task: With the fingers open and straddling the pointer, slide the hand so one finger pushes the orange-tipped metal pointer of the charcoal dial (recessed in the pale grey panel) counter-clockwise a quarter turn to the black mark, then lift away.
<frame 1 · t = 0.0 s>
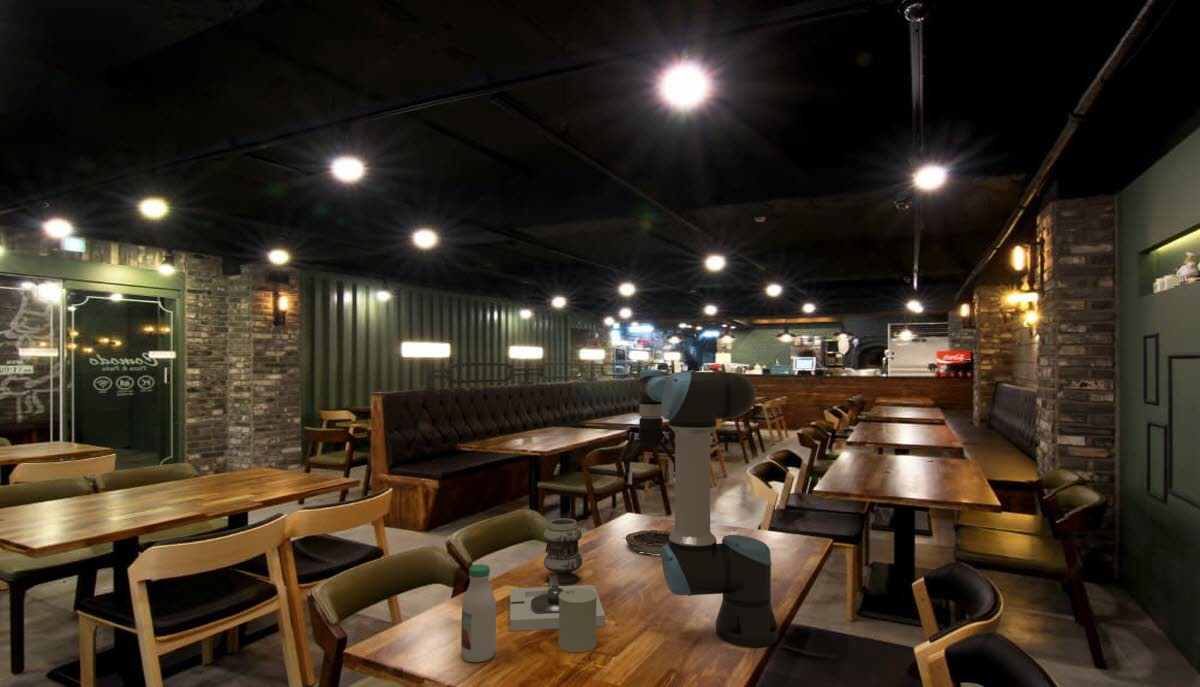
hand: (650, 483, 202), 28 cm above the table, fingers open, 13 cm apart
milk bottle: (478, 656, 143), on the table
panel: (555, 611, 168), on the table
apothecary jar: (563, 580, 192), on the table
pie: (653, 550, 226), on the table
can: (577, 644, 149), on the table
dial: (554, 593, 170), point 4 cm above the table, hinge at 0.0°
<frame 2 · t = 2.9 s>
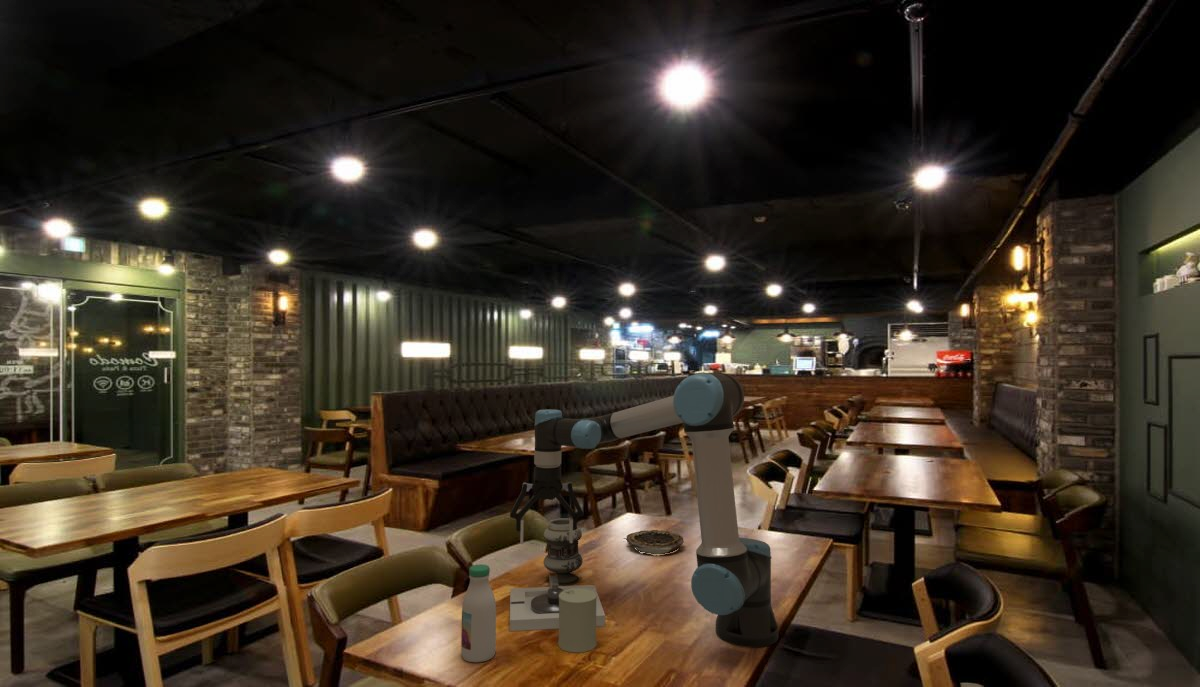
hand: (546, 542, 173), 17 cm above the table, fingers open, 13 cm apart
nothing on the table moved.
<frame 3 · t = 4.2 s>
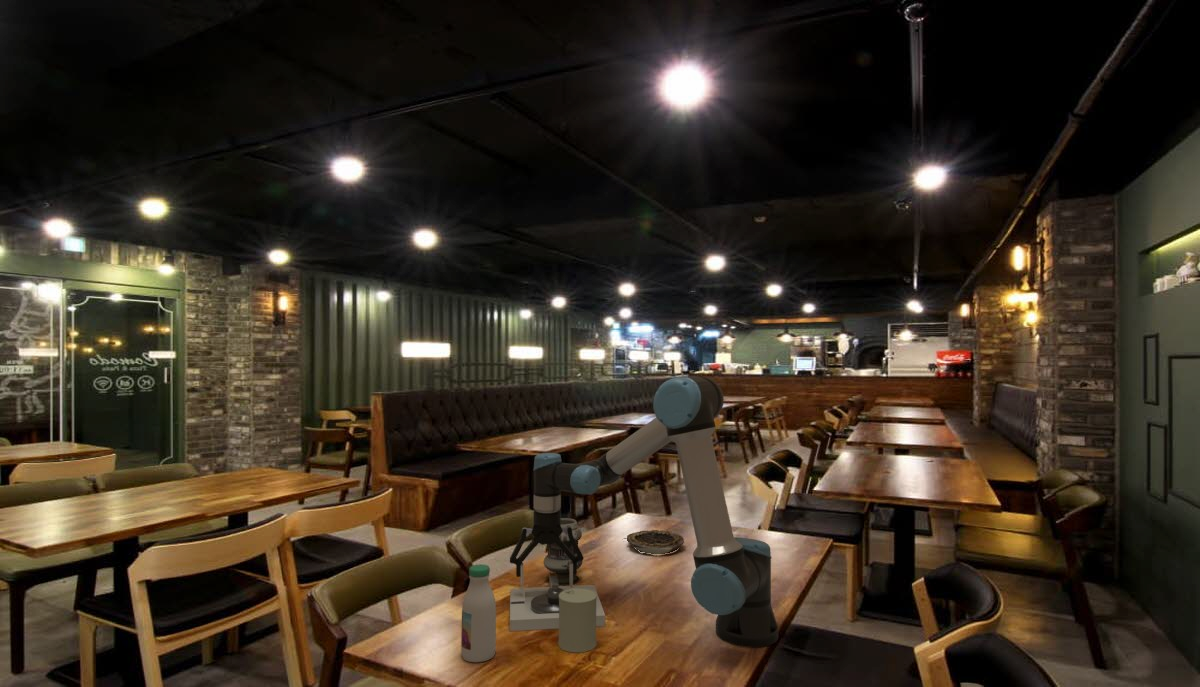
hand: (546, 587, 173), 5 cm above the table, fingers open, 13 cm apart
nothing on the table moved.
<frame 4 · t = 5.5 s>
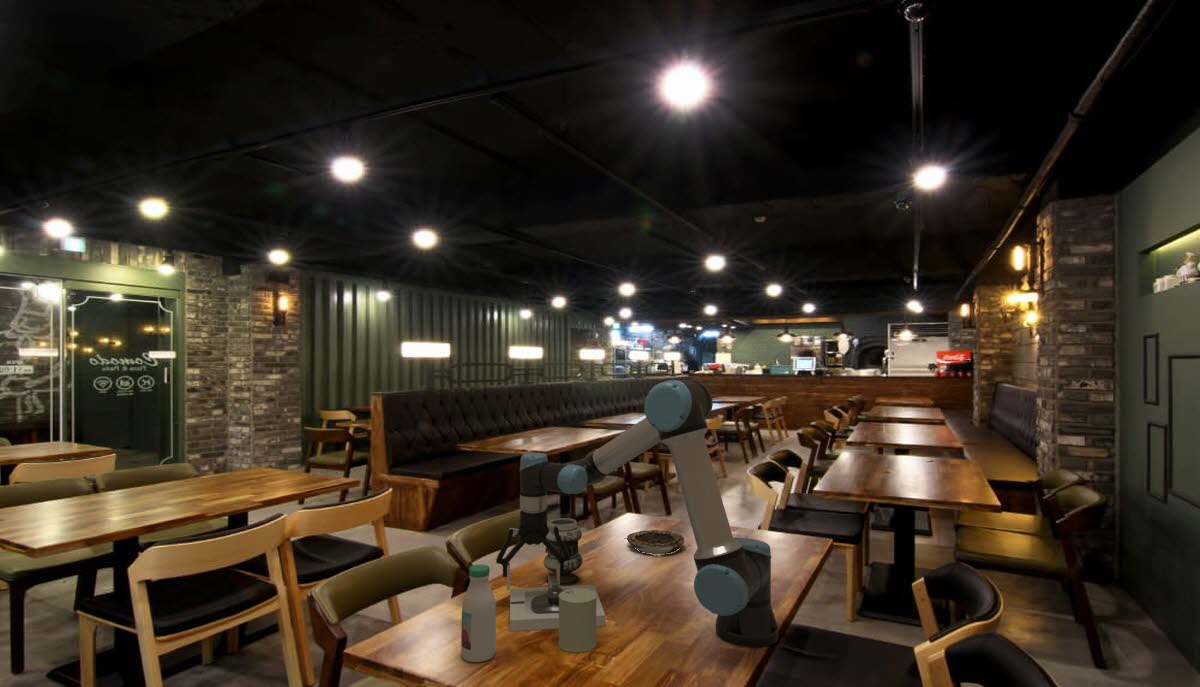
hand: (533, 587, 173), 5 cm above the table, fingers open, 13 cm apart
dial: (554, 593, 170), point 4 cm above the table, hinge at 2.0°, touching gripper
everything else where it was.
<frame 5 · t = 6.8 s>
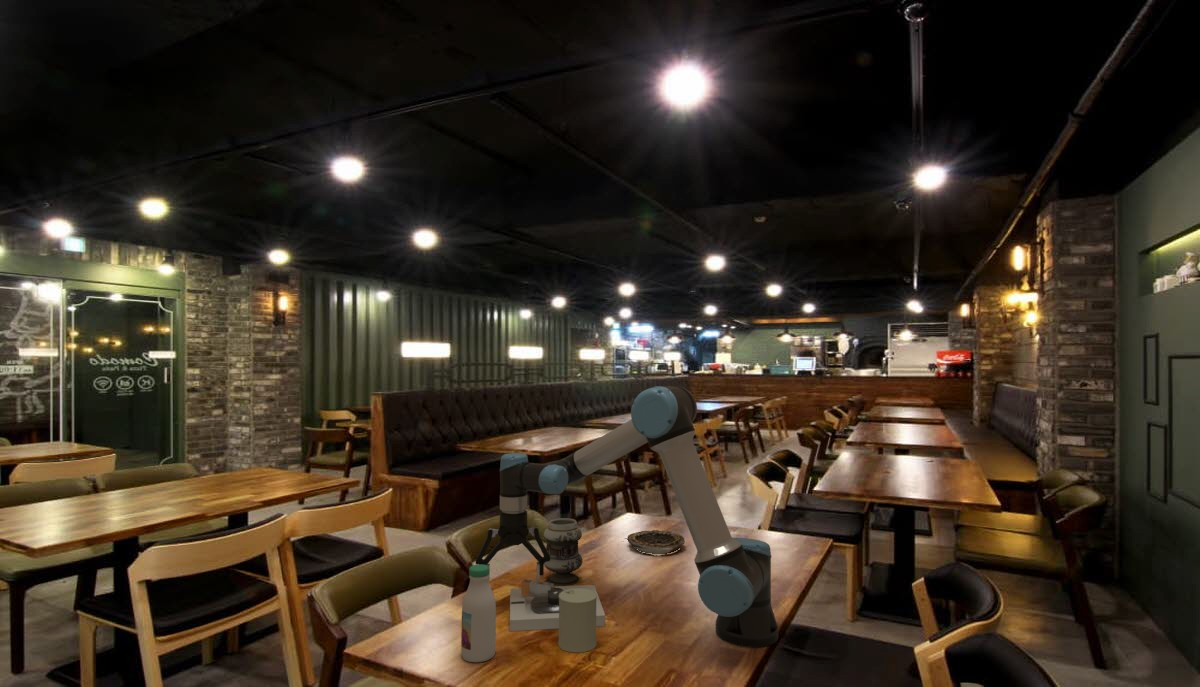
hand: (513, 588, 172), 5 cm above the table, fingers open, 13 cm apart
dial: (549, 594, 169), point 4 cm above the table, hinge at 61.8°, touching gripper
everything else where it was.
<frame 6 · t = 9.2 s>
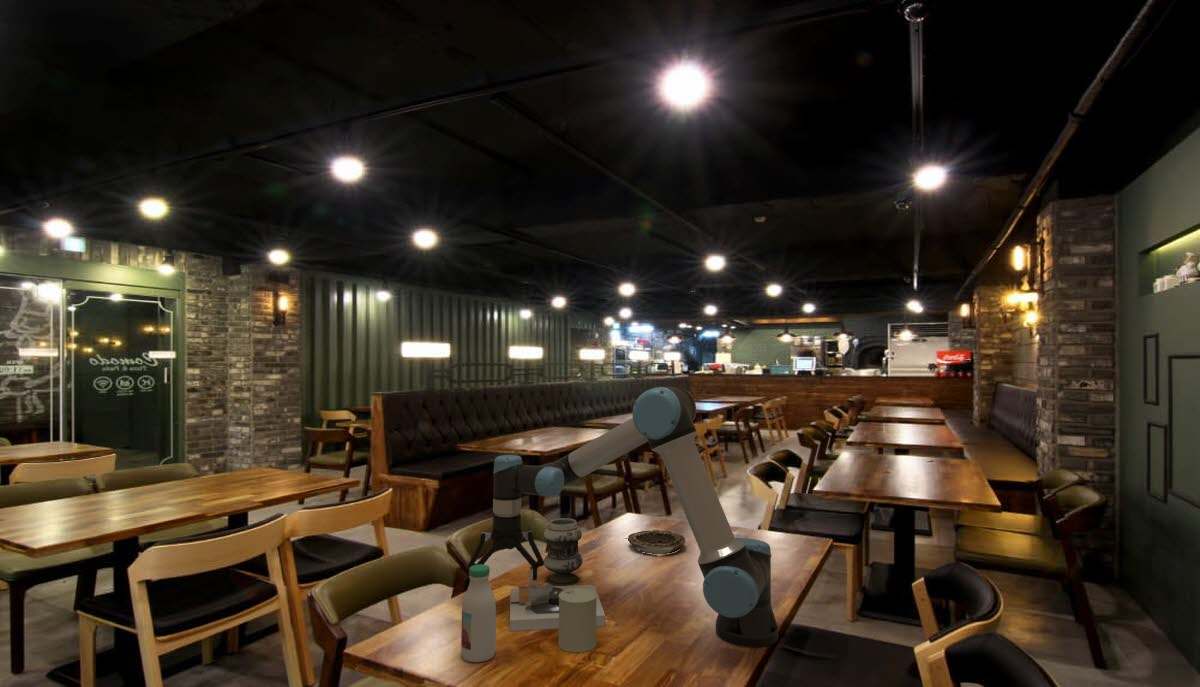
hand: (505, 593, 168), 5 cm above the table, fingers open, 13 cm apart
dial: (549, 596, 168), point 4 cm above the table, hinge at 97.1°, touching gripper
everything else where it was.
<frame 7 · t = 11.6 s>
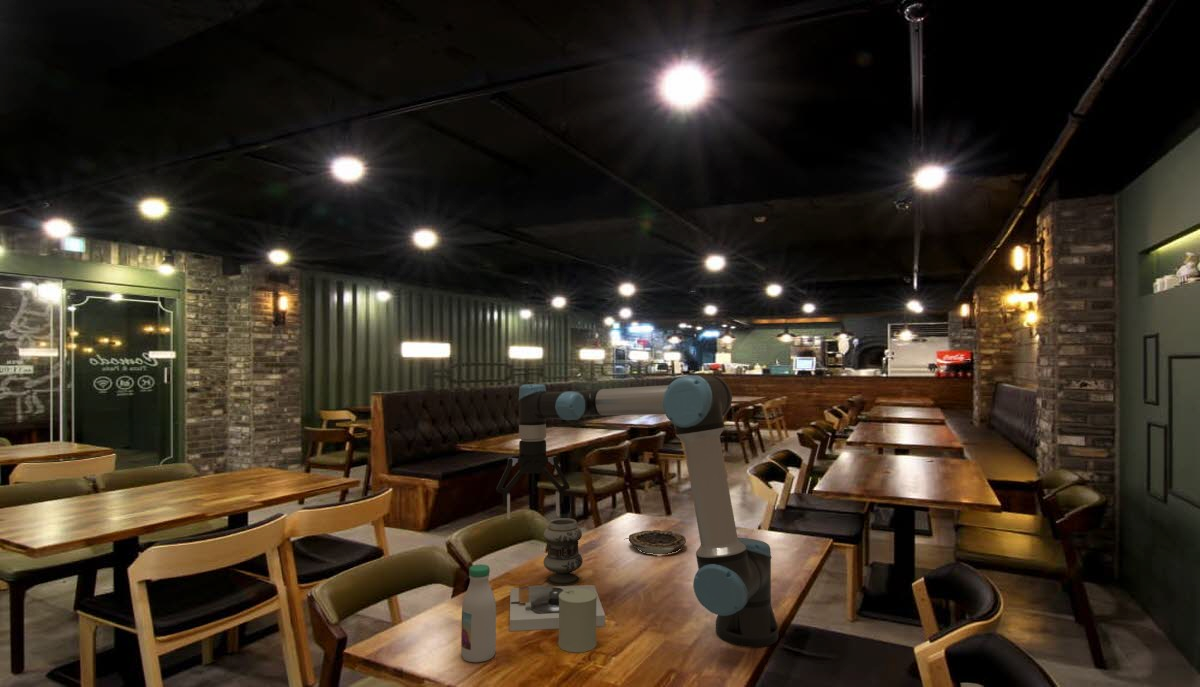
hand: (533, 516, 174), 24 cm above the table, fingers open, 13 cm apart
dial: (549, 596, 168), point 4 cm above the table, hinge at 97.1°
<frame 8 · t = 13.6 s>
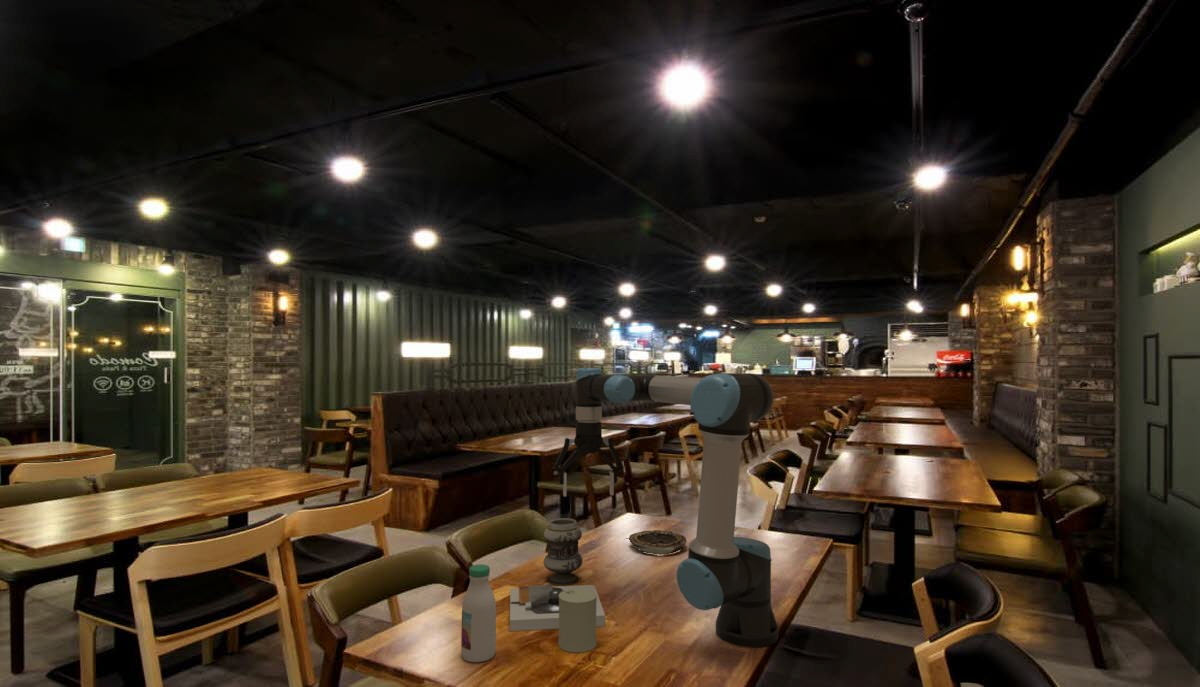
hand: (588, 495, 180), 29 cm above the table, fingers open, 13 cm apart
at the end: dial at +97° (first picture: +0°) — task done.
